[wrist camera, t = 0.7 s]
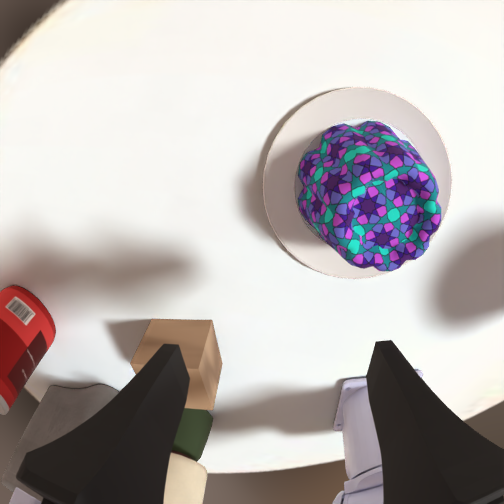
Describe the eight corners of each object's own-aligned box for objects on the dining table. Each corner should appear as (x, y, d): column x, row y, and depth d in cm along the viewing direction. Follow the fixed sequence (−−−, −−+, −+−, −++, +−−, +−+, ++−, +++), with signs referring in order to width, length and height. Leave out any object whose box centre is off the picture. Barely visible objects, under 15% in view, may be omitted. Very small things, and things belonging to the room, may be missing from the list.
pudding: (400, 57, 13) (443, 46, 8) (464, 224, 17) (504, 261, 13) (223, 150, 17) (202, 171, 12) (319, 299, 21) (327, 353, 17)
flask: (70, 409, 34) (24, 514, 17) (44, 384, 32) (-12, 492, 14) (142, 411, 31) (95, 555, 13) (112, 381, 28) (48, 537, 11)
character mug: (134, 381, 28) (92, 488, 16) (194, 379, 26) (162, 506, 15) (179, 433, 32) (157, 522, 21) (232, 433, 31) (218, 531, 20)
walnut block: (222, 362, 25) (212, 410, 20) (168, 360, 25) (152, 404, 21) (212, 319, 23) (198, 368, 18) (152, 318, 23) (130, 363, 19)
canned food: (-5, 280, 24) (-65, 344, 14) (40, 285, 23) (-29, 366, 13) (22, 334, 27) (-25, 399, 17) (68, 346, 26) (20, 425, 17)
